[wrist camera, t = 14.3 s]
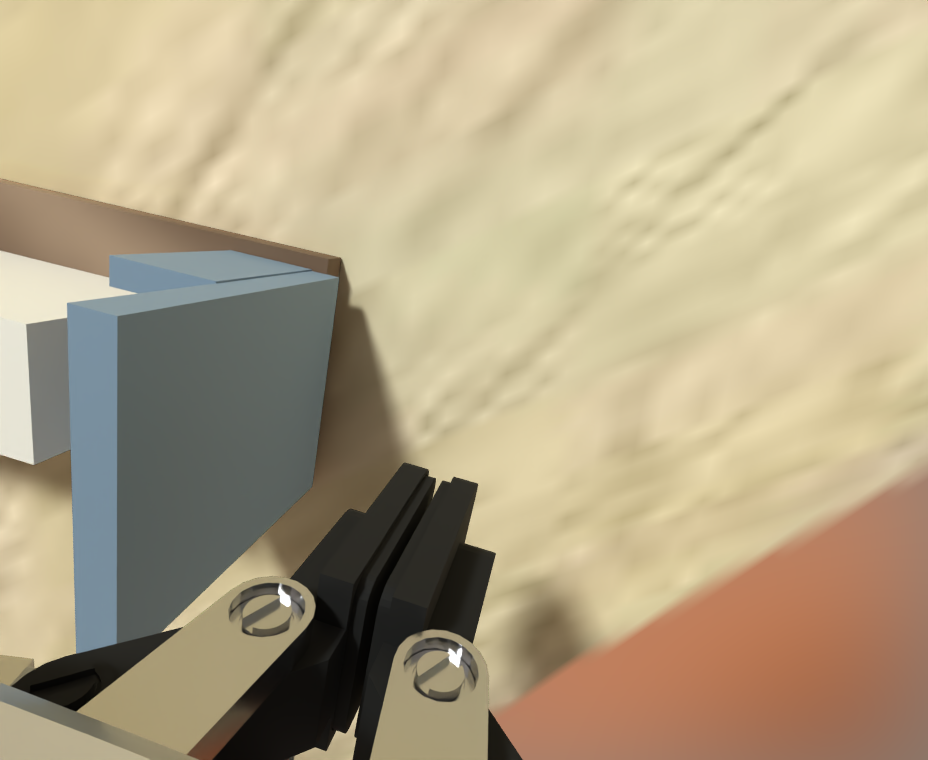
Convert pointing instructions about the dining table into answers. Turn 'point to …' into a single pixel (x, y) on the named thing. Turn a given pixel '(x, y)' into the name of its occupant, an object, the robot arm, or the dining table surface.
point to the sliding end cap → (187, 426)
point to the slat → (38, 353)
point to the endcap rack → (119, 233)
